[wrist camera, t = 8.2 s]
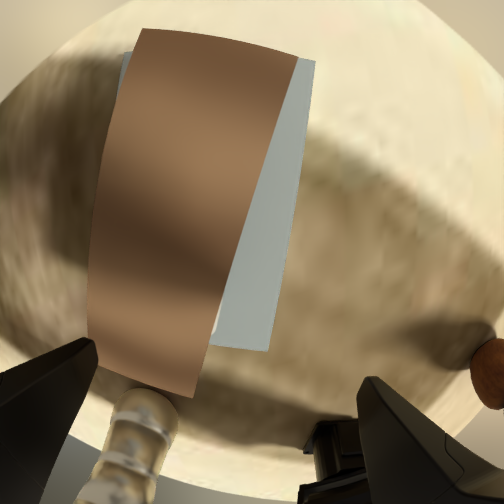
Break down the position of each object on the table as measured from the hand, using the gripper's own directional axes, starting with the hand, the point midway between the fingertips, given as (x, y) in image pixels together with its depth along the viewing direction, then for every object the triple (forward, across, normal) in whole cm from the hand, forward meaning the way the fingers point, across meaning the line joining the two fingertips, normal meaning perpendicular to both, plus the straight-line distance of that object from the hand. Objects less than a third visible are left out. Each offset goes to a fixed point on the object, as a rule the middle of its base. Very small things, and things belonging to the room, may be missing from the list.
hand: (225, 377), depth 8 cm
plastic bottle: (+12, +8, +17) cm, 22 cm away
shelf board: (+6, +3, -3) cm, 8 cm away
